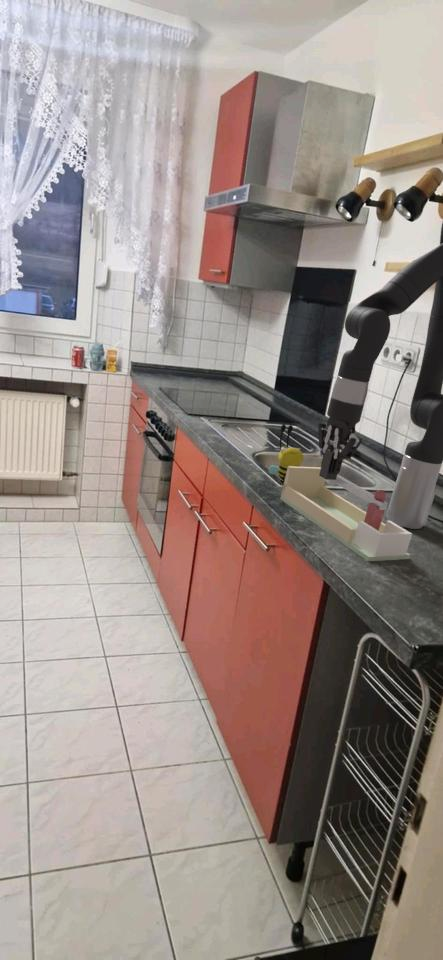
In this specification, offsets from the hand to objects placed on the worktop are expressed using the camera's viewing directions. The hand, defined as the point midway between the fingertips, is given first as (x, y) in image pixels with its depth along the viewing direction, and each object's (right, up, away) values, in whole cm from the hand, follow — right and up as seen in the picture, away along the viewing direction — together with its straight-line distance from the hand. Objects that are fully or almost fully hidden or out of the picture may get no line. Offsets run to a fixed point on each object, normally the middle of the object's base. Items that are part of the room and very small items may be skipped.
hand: (329, 471), depth 143 cm
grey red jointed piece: (+3, -12, -2) cm, 13 cm away
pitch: (+3, -13, +2) cm, 13 cm away
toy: (-8, -2, +30) cm, 31 cm away
